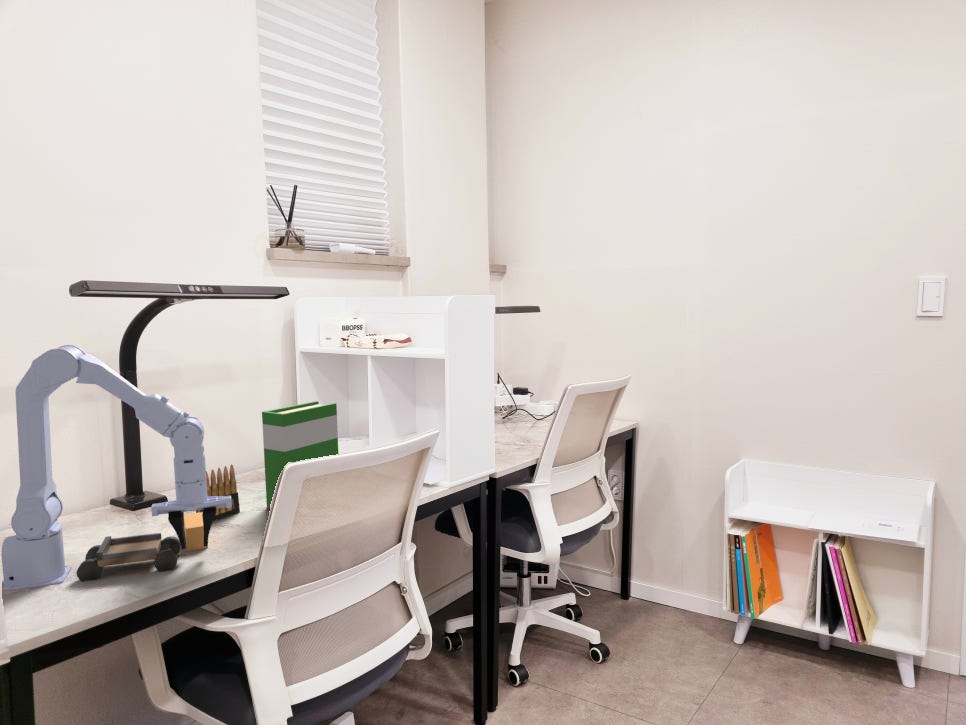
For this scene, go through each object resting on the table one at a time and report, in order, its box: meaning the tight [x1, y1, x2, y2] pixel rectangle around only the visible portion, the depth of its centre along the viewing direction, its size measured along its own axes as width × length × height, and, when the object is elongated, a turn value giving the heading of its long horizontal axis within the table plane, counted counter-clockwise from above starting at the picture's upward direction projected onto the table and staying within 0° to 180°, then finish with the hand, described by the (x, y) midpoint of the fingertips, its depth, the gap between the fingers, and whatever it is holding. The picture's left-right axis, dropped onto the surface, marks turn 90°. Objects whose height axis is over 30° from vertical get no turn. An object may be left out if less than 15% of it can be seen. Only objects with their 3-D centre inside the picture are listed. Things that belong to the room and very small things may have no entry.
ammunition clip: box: [195, 464, 241, 522], centre depth 165 cm, size 11×2×12 cm, turn 147°
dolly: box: [76, 532, 182, 582], centre depth 136 cm, size 17×9×6 cm, turn 109°
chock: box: [184, 512, 209, 552], centre depth 150 cm, size 4×10×5 cm, turn 26°
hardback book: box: [261, 400, 339, 509], centre depth 176 cm, size 18×7×24 cm, turn 147°
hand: (195, 546), depth 140 cm, fingers open, 3 cm apart
